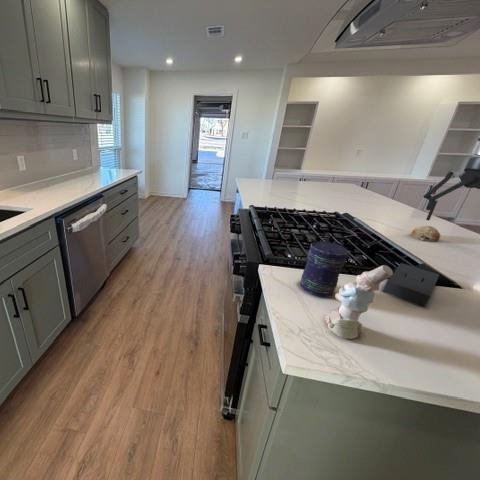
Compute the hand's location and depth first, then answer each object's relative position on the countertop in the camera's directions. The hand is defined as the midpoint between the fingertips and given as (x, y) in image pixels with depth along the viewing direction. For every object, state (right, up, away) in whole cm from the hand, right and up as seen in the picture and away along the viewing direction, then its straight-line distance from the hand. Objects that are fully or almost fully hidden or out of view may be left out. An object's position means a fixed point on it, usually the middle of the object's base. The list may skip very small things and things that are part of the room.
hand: (456, 224), depth 83 cm
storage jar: (-46, -21, 0) cm, 51 cm away
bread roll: (+35, -4, +44) cm, 56 cm away
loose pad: (-11, -20, +4) cm, 23 cm away
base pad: (-17, -22, -1) cm, 28 cm away
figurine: (-50, -28, -17) cm, 60 cm away
